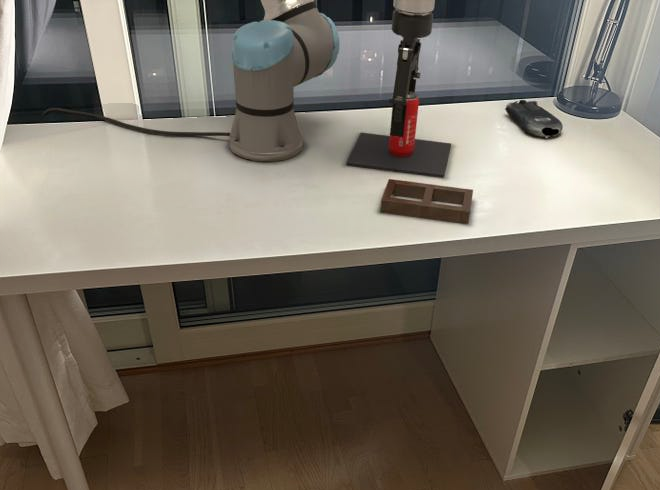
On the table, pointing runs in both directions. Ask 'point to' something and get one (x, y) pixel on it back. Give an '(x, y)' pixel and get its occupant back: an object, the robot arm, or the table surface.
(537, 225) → the table surface
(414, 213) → the tray
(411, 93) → the beverage can
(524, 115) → the electronic device
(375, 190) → the table surface
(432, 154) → the mat
